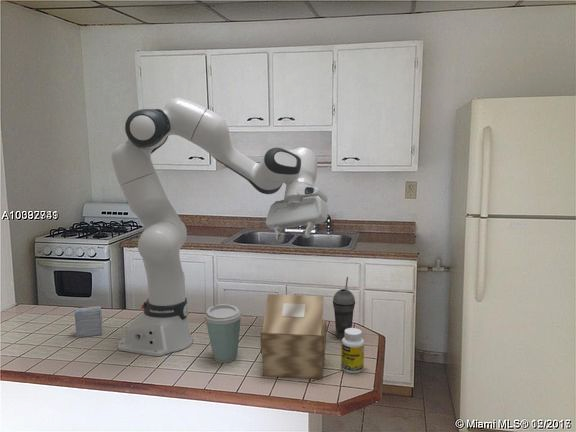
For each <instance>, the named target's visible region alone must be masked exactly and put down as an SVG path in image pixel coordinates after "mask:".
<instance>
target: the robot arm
mask: <svg viewBox="0 0 576 432" xmlns="http://www.w3.org/2000/svg"><path fill="white" fill-rule="evenodd" d="M124 130H125V131H124V132H125V134H126V137H127V138H128V139H127V140H126V141H125V142H124V143H121V144H119V145H117V146H116V147H115V148H114V149H113V151H112V153H111V161H112V166H113V169H114V174H115V176H116V179H117V181H118V184H119V186H120V188H121V190H122V193H123V196H124V198H125V200H126V202H127V205H128V207H129V209H130V211H131V212H132V213H133V214H134V215H135V216H136V217H137V218H138V219H139V221H140V223H141V224H142V225H143V227H144V230H143V231H142V233H141V235H140V237H139V239H138V241H137V242H138V243H137V250H138V253H139V255H140V256H141V258H142V262H143V266H144V270H145V274H146V279H147V295H148V296H147V297H148V298H147V299H146V301H144V302H143V304H142V305H140V308H141V309H140V310H143V312H142V313H140V314H139V315H138V316H137V317H136V318H134V319H133V320H132V321H131V322H130V323H129V324H128V326H127V328H126V331H125V335H124V337H123V338H121V339H120V340H119V342H118V344H117V349H118V351H122V352H128V353H134V354H141V355H147V356H152V357H153V356H154V357H161V356H165V355H167V354H169V353H174V352H178V351H181V350H184V349H186V348H189V347H190V346H191V345H192V343H193V341H194V340H193V338H192V335H191V331H190V327H189V322H188V312H189V311H188V309H189V307H188V299H187V297H186V286H185V285H186V282H185V272H184V271H183V266H182V263H181V258H180V250H181V248H182V247H183V246H184V245H185V243H186V241H187V235H188V232H187V231H188V230H187V226H186V224H185V223H184V222H183V221H182V220H181V218H180V216H179V215H178V213H177V211H176V210H175V208H174V207H173V205H172V203H171V202H170V200H169V198H168V197H167V194H166V192H165V190H164V187H163V186H162V183H161V181H160V178H159V176H158V173H157V172H156V169H155V167H154V164H153V162H152V159H151V155H152V154H153V153H154V152H155V151H156V150H158V149H159V148H161V147H162V146H163V145H165V143H166V142H167V140H168V138H169V136H179V137H181V138H182V139H185V140H187V141H188V142H191V143H192V144H194V145H196V146H198V147H199V148H201V149H202V150H204V151H205V152H206V153H208V154H209V155H210V156H211V157H212V158H213V159H214V160H216V161H217V162H219V163H220V164H222V165H223V166H225V167H226V168H228V169H229V170H231V171H232V172H234V173H236V174H237V175H239V176H241V177H242V178H244V179H245V180H246V181H247V182H248V183H249V184H250V185H251V186H252V187H253V188H254V189H256V191H258V192H259V193H261V194H264V195H272V194H276V193H277V192H278V191H279V190H280V189H281V188H282V186H283V185H284V184H285V192H284V196H283V199H281V200H276V201H274V202H273V203H272V204H271V205H270V207H269V210H268V212H267V216H266V220H265V226H266V227H267V228H269V229H270V230H273V231H274V232H275V234H276V236H275V240H276V241H277V242H283V241H284V238H285V236H284V234H282V233H281V232H283V229H290V228H295V227H303V226H306V228H305V230H302V234H301V236H302V238H304V239H309V238H310V236H311V233H312V231H313V230H314V229H315V227H316V225H317V224H324V223H325V222H326V221H327V219H328V211H329V208H328V200H329V198H328V196H327V195H326V194H325V193H324V192H323V191H322V190H320V189H319V188H318V187H316V186H315V183H316V180H317V174H318V158H317V156H316V155H317V154H315V152H314V151H313V150H312V149H309V148H308V147H302V146H301V147H296V148H295V149H294V148H293V149H284V148H281V147H272V148H270V149H268V150H267V151H266V153H265V154H264V155H263V157H262V158H261V160H260V162H256V161H254V160H253V159H251V158H250V157H248V156H246V155H245V154H243V153H242V152H240V151H238V149H237V148H235V147H234V145H233V144H232V141H231V138H230V131H229V127H228V124H227V122H226V120H225V119H224V118H223V117H222V116H220V115H219V114H218V113H216V112H215V111H212V110H210V109H209V108H206V107H205V106H203V105H202V104H199V103H197V102H194V101H192V100H188V99H186V98H183V97H173V98H172V99H170V100H169V101H168V102H167V103H166V104H165V106H164V107H163V109H162V108H161V109H160V108H144V109H138V110H136V111H134V112H132V113H130V115H129V116H128V117H127V119H126V121H125V124H124Z"/></svg>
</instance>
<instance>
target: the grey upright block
mask: <svg viewBox="0 0 576 432" xmlns="http://www.w3.org/2000/svg"><path fill="white" fill-rule="evenodd" d="M74 322H75V323H74V324H75V332H76V334H75V335H76V339H79V338H87V337H93V336H95V337H96V336H100V335H103V332H104V328H103V327H104V326H103V314H102V306H101V305H98V306H97V305H95V306H90V307H89V306H88V307H79V308H75V311H74Z"/></svg>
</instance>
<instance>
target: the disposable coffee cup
mask: <svg viewBox="0 0 576 432" xmlns="http://www.w3.org/2000/svg"><path fill="white" fill-rule="evenodd" d="M241 319H242V312H241V310H240V309H239V308H238V307H237V306H236V305H233V304H227V303H220V304H214V305H212V306H210V307H208V308H207V310H206V312H205V315H204V320H205V323H206V328H207V332H208V336H209V341H210V346H211V350H212V353H213V354H212V355H213V358H214V360H215V361H216V362H218V363H221V364H222V363H225V364H226V363H230V362H233V361H235V360H236V359H237V356H238V350H239V341H240V332H241V331H240V329H241V322H242V320H241Z"/></svg>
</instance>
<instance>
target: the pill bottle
mask: <svg viewBox="0 0 576 432" xmlns="http://www.w3.org/2000/svg"><path fill="white" fill-rule="evenodd" d="M344 335H345V337H344V338H343V339H341V351H340V352H341V355H340V356H341V357H340V361H341V362H340V366H341V369H342V370H343V372H346V373H349V374H359V373H361V372H363V370H364V367H365V366H364V365H365V363H364V360H365V357H364V356H365V340H364V338H362V336H363V334H362V330H361V329H360V328H355V327H352V328H348V329H345V332H344Z"/></svg>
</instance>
